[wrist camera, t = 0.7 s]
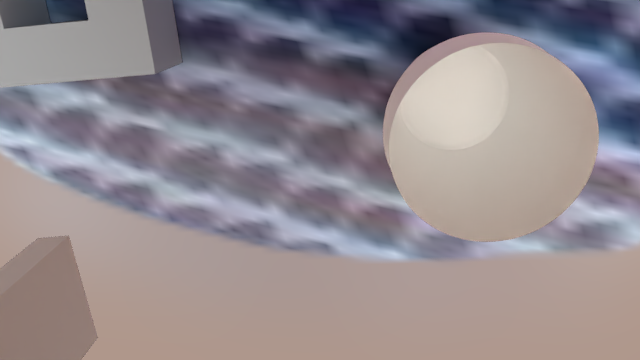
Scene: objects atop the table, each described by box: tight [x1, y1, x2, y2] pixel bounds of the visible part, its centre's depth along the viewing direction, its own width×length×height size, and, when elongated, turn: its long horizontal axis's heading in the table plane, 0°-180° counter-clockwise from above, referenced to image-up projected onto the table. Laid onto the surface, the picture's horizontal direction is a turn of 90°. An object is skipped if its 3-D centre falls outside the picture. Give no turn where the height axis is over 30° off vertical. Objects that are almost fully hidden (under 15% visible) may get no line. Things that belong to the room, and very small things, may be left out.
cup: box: [383, 33, 599, 242], centre depth 31 cm, size 9×9×12 cm
